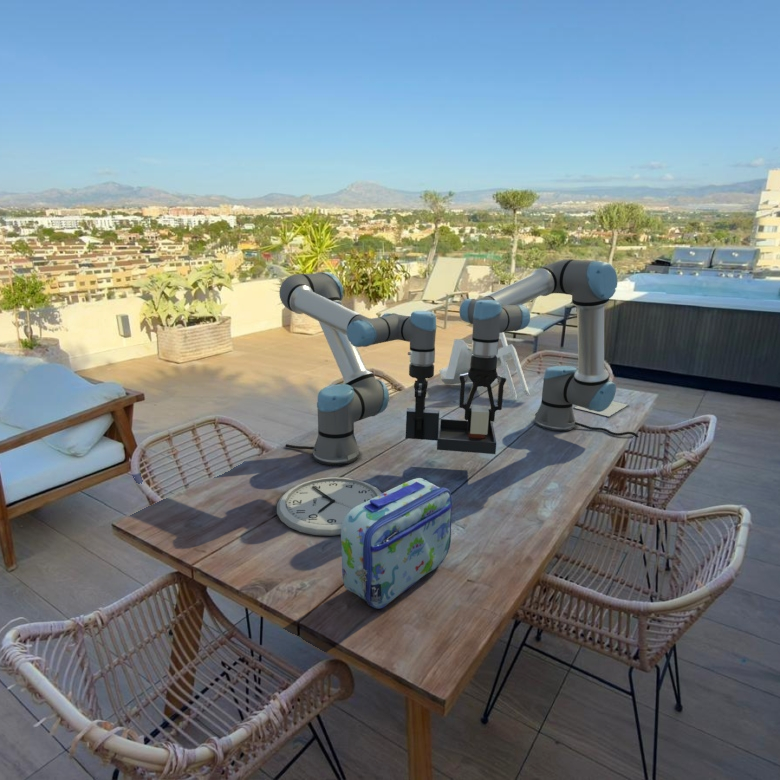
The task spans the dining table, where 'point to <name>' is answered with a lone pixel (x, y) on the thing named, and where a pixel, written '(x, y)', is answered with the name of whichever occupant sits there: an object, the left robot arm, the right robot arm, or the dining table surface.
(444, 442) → the tray
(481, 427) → the cream block
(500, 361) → the white plastic object
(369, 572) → the lunch box
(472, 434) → the terracotta block
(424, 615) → the dining table surface
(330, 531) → the wall clock
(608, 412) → the invitation card
